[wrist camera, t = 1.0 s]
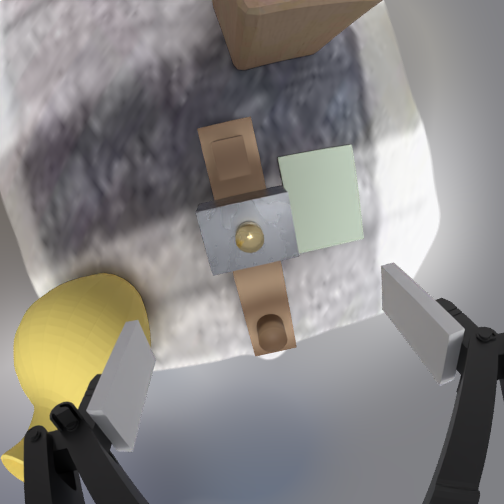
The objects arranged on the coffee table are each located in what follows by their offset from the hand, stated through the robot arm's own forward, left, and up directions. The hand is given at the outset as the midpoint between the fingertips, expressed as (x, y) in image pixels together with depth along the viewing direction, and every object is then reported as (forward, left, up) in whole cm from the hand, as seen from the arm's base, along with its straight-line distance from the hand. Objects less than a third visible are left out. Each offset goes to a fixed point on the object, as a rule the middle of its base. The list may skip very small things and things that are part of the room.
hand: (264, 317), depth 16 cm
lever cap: (0, 0, -16) cm, 16 cm away
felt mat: (+1, +10, -23) cm, 25 cm away
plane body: (+3, 0, -23) cm, 24 cm away
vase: (+9, -21, -24) cm, 33 cm away
